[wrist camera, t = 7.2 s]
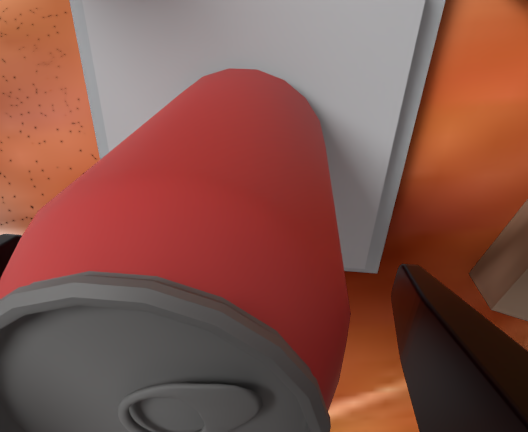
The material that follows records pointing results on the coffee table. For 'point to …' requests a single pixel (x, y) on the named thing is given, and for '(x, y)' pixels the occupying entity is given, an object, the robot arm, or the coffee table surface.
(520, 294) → the metal block
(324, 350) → the beer can
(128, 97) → the stand
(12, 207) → the coffee table surface
